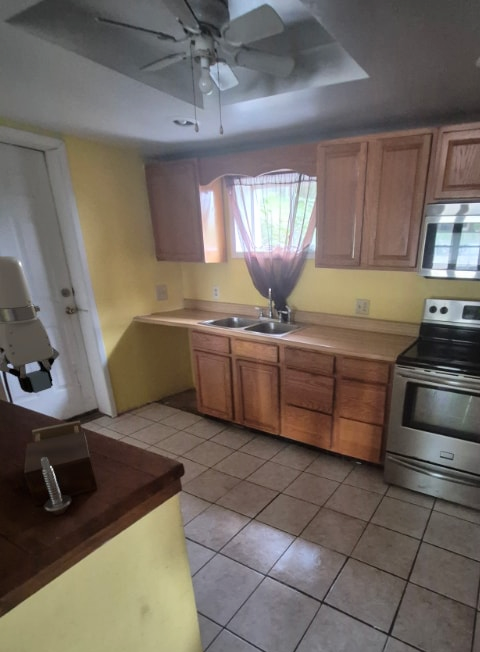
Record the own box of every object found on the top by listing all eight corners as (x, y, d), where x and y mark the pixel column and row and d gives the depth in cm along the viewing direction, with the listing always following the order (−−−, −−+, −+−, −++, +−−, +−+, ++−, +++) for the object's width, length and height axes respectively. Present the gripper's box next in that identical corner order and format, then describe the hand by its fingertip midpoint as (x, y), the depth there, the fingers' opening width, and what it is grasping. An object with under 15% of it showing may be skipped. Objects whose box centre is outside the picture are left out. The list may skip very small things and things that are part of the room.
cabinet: (37, 475, 88) (26, 443, 84) (91, 461, 94) (84, 431, 90) (35, 507, 77) (24, 472, 74) (97, 489, 83) (89, 456, 80)
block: (35, 393, 89) (30, 377, 88) (25, 390, 91) (20, 375, 89) (51, 387, 93) (47, 372, 91) (41, 385, 94) (37, 370, 93)
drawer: (39, 445, 99) (32, 422, 96) (83, 435, 104) (78, 413, 101) (38, 477, 85) (30, 452, 82) (89, 464, 90) (83, 440, 88)
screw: (54, 522, 73) (41, 513, 76) (78, 508, 77) (65, 500, 79) (36, 466, 68) (23, 459, 70) (63, 454, 72) (49, 448, 74)
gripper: (42, 307, 93) (60, 376, 100) (-37, 319, 79) (-8, 398, 86) (61, 309, 90) (79, 380, 97) (-16, 322, 76) (11, 403, 83)
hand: (38, 387), depth 92 cm, fingers closed on block, 4 cm apart
